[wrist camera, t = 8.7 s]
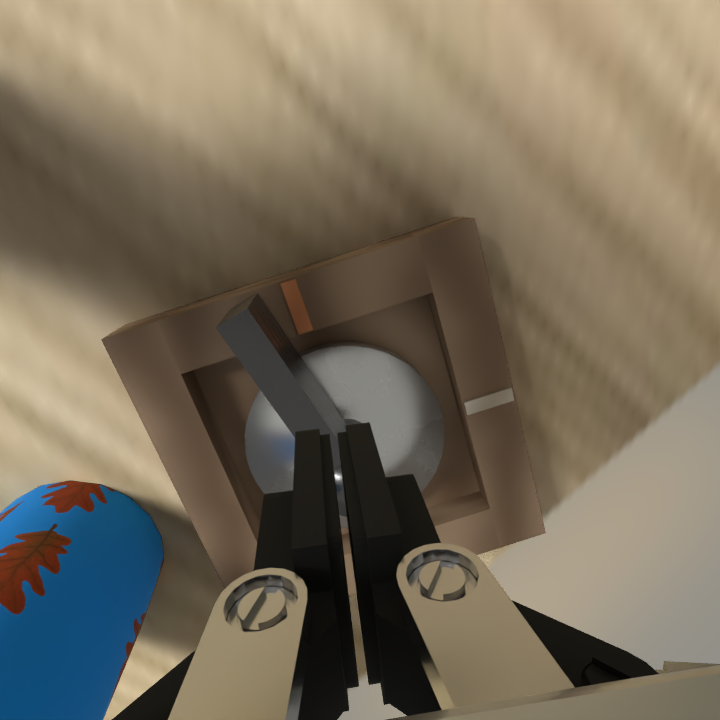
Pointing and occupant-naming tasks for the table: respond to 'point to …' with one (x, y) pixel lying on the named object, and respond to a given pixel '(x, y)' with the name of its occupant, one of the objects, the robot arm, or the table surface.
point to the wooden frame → (342, 323)
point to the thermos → (71, 598)
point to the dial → (330, 401)
